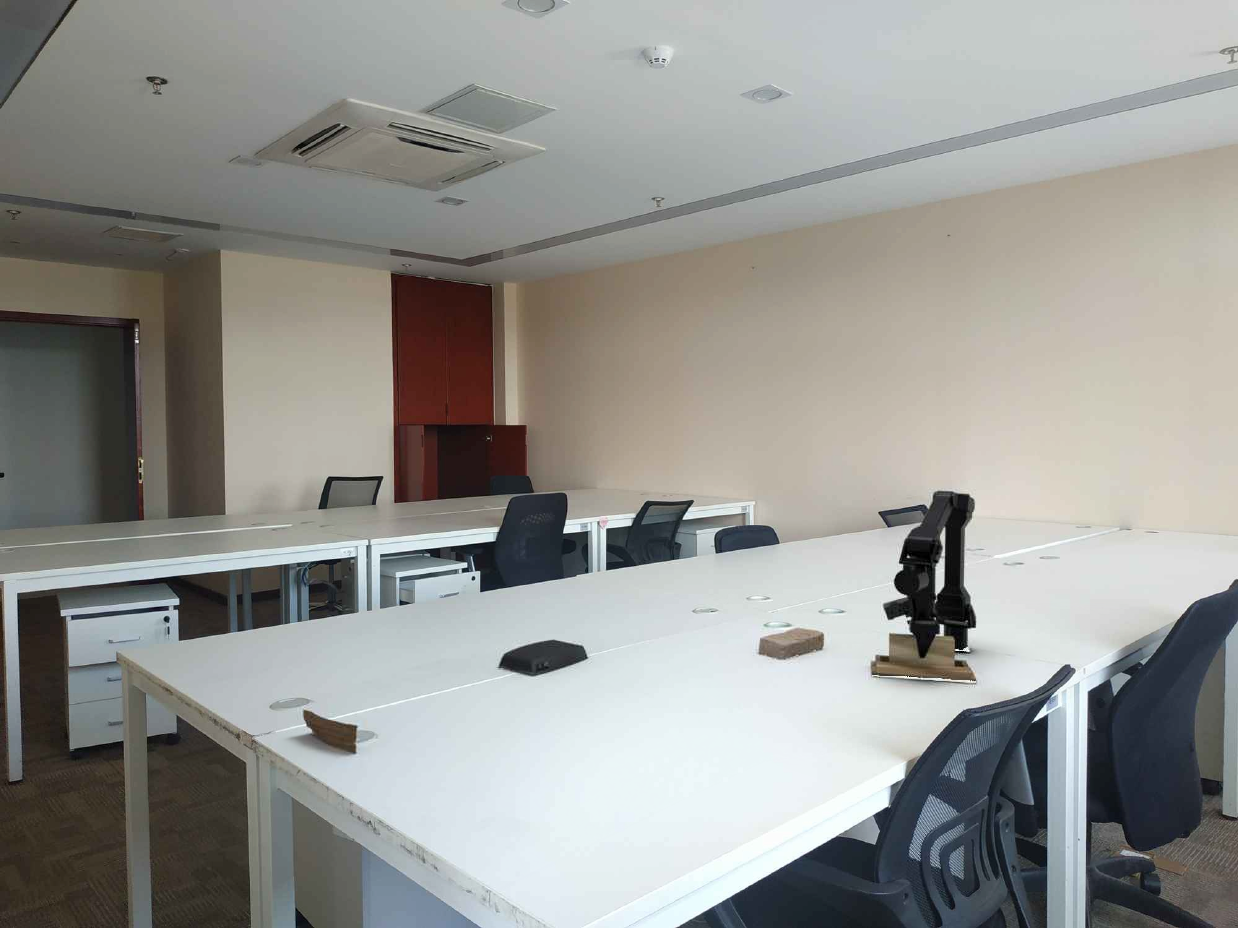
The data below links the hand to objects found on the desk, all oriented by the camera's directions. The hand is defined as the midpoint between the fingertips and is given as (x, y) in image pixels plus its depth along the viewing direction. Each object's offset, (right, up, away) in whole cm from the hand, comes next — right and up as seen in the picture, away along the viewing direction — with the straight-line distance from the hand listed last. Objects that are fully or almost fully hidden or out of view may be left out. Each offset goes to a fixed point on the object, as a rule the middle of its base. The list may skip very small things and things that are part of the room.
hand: (921, 655), depth 197 cm
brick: (-26, -4, +19) cm, 32 cm away
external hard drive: (-88, -5, +9) cm, 88 cm away
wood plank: (-121, -7, -43) cm, 129 cm away
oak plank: (0, -2, 0) cm, 2 cm away
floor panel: (0, -4, -1) cm, 4 cm away
